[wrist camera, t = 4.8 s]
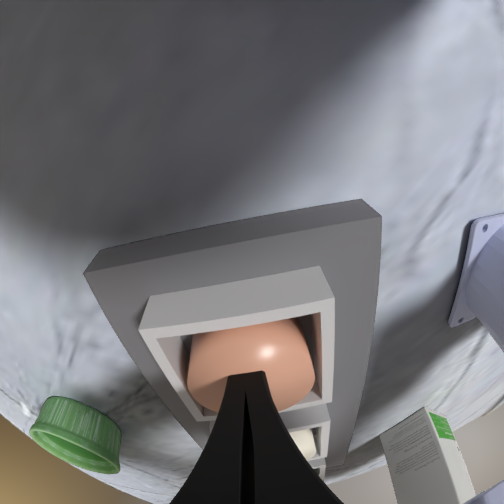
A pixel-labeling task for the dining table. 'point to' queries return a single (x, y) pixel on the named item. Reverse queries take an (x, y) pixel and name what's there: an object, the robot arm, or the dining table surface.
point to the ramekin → (78, 435)
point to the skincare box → (426, 461)
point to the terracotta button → (252, 361)
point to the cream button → (304, 442)
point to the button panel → (253, 307)
